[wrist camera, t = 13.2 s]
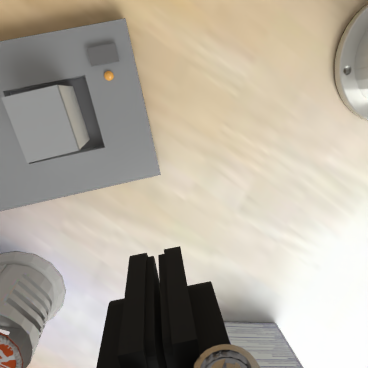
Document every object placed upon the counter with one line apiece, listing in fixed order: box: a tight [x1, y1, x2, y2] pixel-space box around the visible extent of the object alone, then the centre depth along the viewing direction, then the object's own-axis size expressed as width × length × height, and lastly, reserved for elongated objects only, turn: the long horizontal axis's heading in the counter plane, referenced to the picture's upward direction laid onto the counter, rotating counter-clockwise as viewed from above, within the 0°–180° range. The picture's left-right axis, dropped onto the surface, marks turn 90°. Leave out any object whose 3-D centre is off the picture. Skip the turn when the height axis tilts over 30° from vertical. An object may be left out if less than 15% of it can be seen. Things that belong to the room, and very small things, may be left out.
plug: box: [2, 85, 90, 163], centre depth 26 cm, size 4×5×6 cm
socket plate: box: [0, 18, 161, 211], centre depth 28 cm, size 16×14×3 cm
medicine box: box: [224, 322, 303, 368], centre depth 36 cm, size 8×4×9 cm, turn 80°
